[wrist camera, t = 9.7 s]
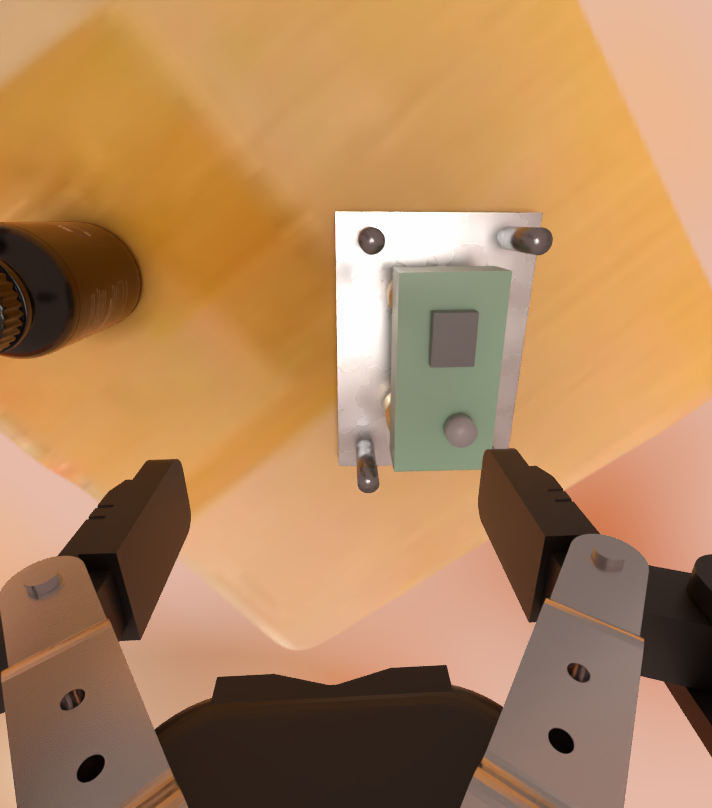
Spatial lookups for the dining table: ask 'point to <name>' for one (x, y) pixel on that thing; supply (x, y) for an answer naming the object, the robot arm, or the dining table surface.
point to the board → (446, 364)
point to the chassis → (372, 310)
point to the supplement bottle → (61, 285)
